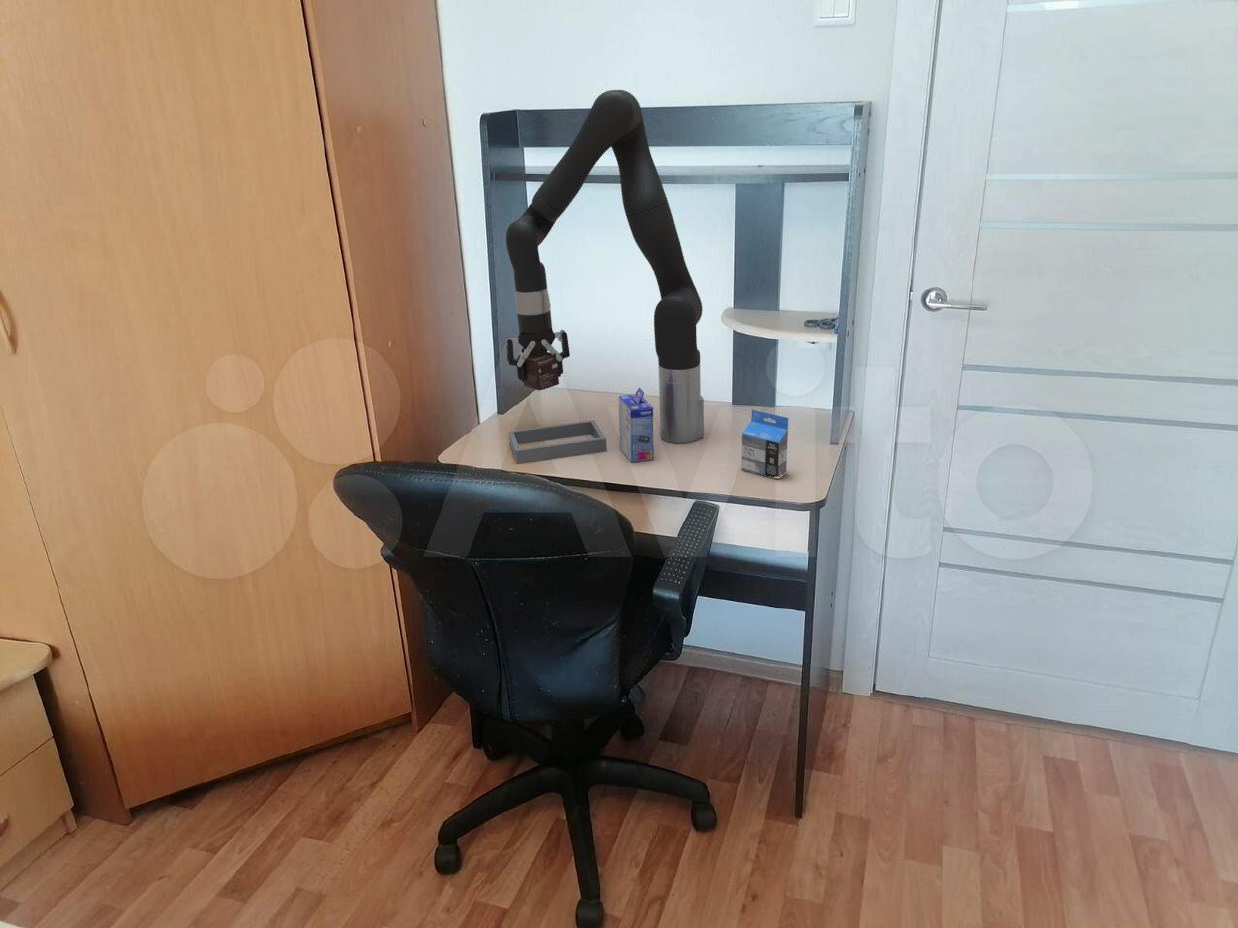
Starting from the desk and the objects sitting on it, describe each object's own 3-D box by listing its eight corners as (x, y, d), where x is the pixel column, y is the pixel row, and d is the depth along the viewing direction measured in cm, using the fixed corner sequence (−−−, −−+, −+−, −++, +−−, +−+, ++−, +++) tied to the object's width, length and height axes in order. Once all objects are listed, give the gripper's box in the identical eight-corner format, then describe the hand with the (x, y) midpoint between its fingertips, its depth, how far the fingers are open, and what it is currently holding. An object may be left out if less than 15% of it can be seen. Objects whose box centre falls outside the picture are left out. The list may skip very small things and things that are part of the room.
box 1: (538, 391, 205) (535, 360, 203) (523, 386, 210) (519, 355, 207) (559, 384, 209) (556, 354, 206) (544, 379, 213) (541, 349, 210)
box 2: (594, 431, 211) (593, 419, 210) (606, 451, 201) (606, 438, 200) (509, 443, 207) (508, 431, 206) (517, 463, 197) (516, 451, 195)
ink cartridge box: (655, 460, 195) (653, 396, 189) (631, 463, 194) (628, 400, 188) (642, 443, 204) (640, 382, 198) (618, 447, 203) (615, 385, 197)
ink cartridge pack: (740, 470, 188) (740, 414, 183) (750, 463, 191) (751, 409, 186) (777, 480, 183) (779, 423, 178) (787, 473, 186) (789, 417, 181)
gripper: (561, 301, 207) (567, 369, 213) (499, 309, 204) (507, 378, 211) (568, 309, 200) (574, 379, 207) (504, 317, 197) (512, 387, 204)
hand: (540, 378), depth 209 cm, fingers closed on box 1, 8 cm apart
